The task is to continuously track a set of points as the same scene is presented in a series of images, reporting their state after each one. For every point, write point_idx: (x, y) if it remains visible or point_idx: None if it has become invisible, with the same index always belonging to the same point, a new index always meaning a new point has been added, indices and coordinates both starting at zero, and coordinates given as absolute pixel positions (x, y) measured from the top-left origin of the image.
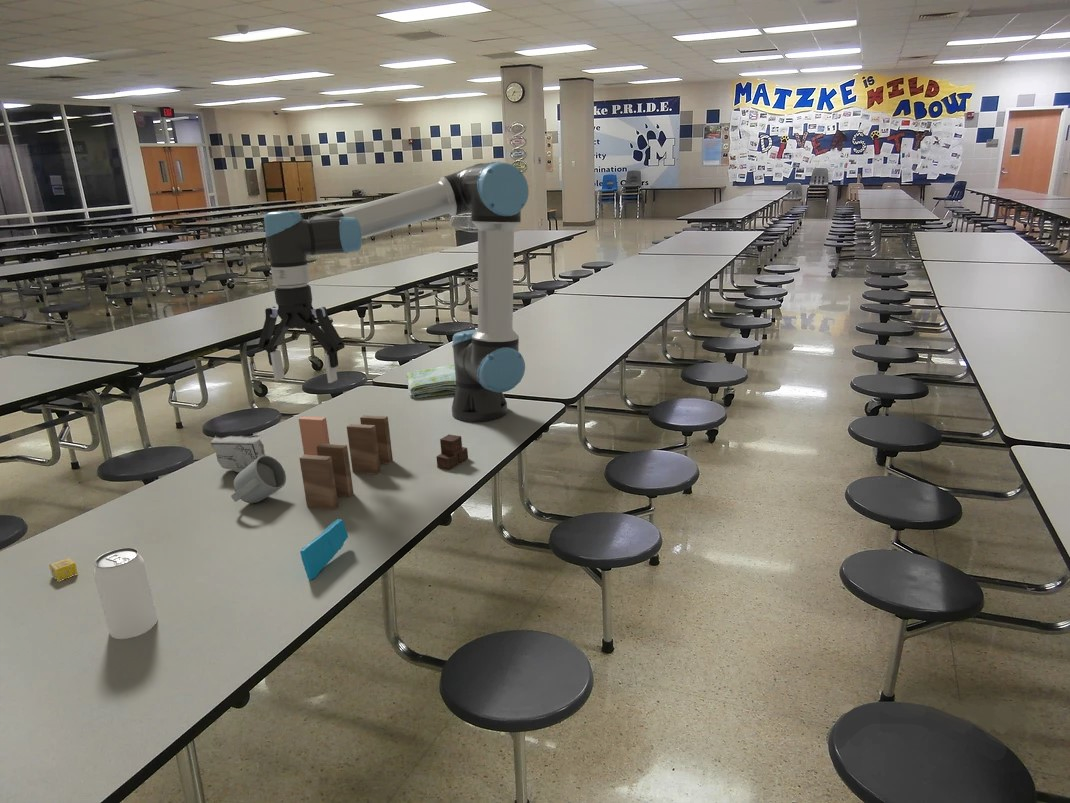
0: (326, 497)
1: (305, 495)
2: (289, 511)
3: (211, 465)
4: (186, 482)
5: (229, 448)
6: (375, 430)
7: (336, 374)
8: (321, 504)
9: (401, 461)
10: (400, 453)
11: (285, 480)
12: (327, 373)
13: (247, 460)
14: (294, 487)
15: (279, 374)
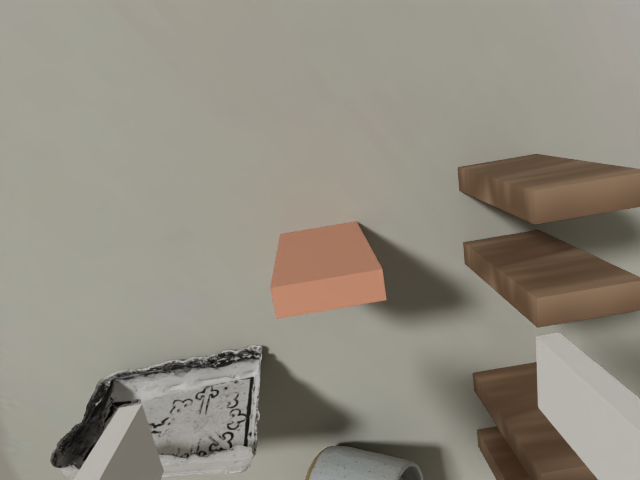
0: None
1: (492, 471)
2: (447, 466)
3: (30, 357)
4: None
5: None
6: (629, 274)
7: (582, 355)
8: None
9: (562, 145)
10: (528, 88)
11: (418, 467)
12: (583, 453)
13: (211, 418)
14: (371, 380)
15: (141, 473)
